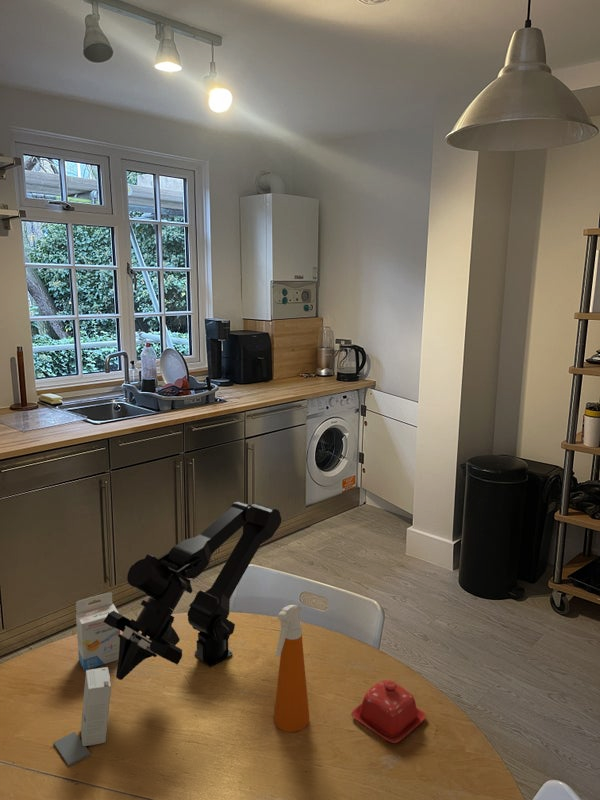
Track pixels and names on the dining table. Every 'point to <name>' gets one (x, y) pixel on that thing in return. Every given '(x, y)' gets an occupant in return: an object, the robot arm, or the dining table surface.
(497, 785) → the dining table surface
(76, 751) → the flat gray block
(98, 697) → the skincare box
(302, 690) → the spray bottle
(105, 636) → the ink box
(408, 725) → the butter dish
